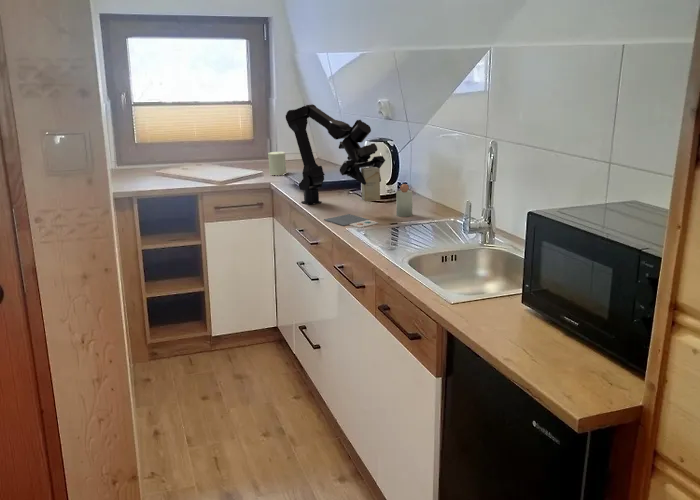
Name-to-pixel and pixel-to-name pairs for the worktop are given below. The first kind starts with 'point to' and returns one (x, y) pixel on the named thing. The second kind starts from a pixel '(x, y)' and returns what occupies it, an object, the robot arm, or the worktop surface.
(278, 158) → the can
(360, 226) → the card
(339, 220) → the mat
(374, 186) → the skincare box
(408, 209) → the perfume bottle
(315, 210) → the worktop surface
